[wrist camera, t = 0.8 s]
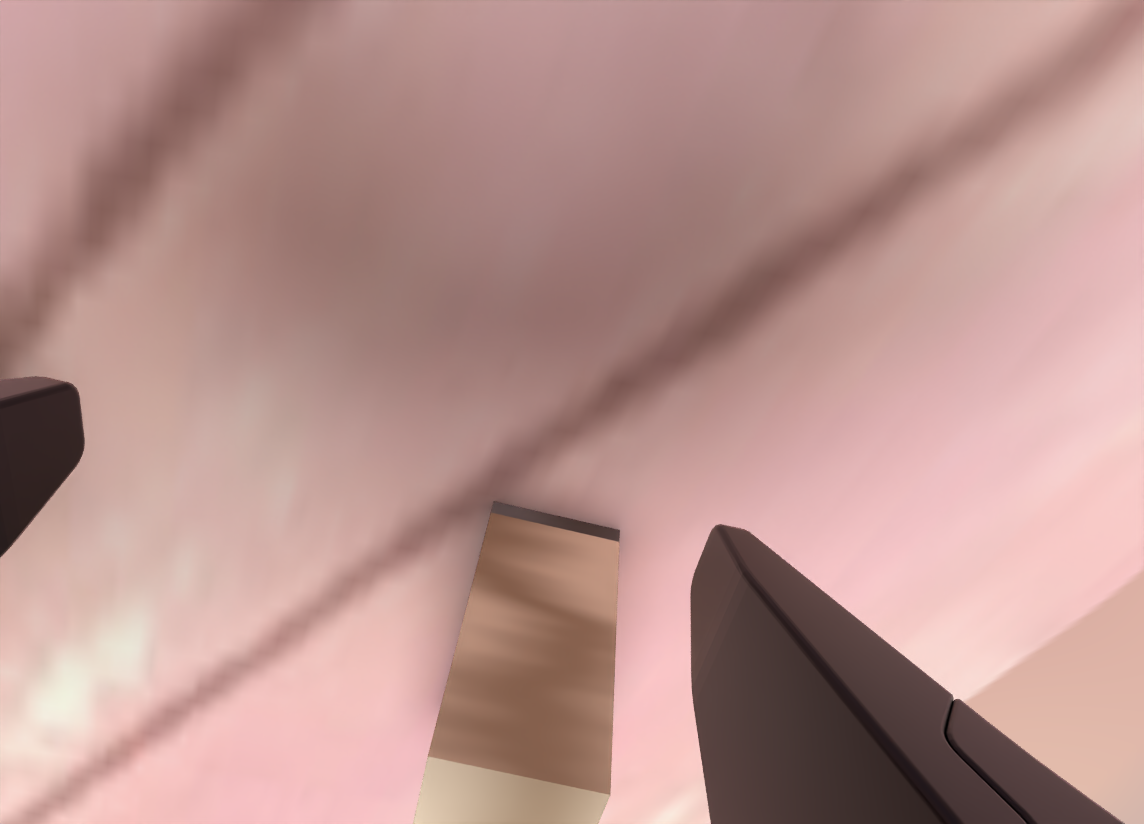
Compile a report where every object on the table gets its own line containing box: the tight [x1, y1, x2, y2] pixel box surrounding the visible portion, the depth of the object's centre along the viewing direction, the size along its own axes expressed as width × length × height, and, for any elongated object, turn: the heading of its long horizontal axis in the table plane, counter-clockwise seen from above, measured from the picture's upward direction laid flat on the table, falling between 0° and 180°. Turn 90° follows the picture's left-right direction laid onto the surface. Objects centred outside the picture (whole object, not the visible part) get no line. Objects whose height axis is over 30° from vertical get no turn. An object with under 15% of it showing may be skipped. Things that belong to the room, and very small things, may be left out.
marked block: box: [413, 501, 620, 824], centre depth 24 cm, size 4×10×9 cm, turn 167°
